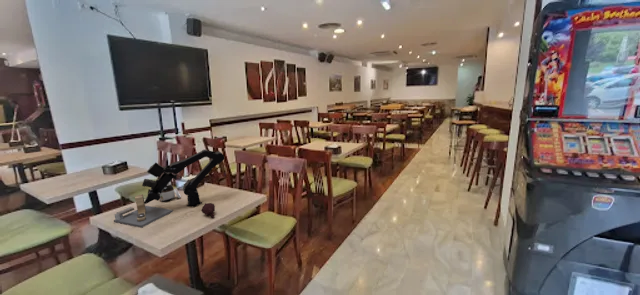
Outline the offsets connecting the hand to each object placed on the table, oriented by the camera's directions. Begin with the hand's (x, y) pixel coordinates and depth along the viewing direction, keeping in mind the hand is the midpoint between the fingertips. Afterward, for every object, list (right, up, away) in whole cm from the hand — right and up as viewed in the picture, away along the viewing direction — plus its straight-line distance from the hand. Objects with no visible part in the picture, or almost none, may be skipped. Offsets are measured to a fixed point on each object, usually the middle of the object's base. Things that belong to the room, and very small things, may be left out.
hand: (144, 203), depth 151 cm
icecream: (+37, -6, 0) cm, 38 cm away
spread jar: (+2, -2, +24) cm, 24 cm away
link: (0, -6, -2) cm, 7 cm away
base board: (0, -8, -1) cm, 8 cm away
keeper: (-5, -7, -3) cm, 9 cm away
